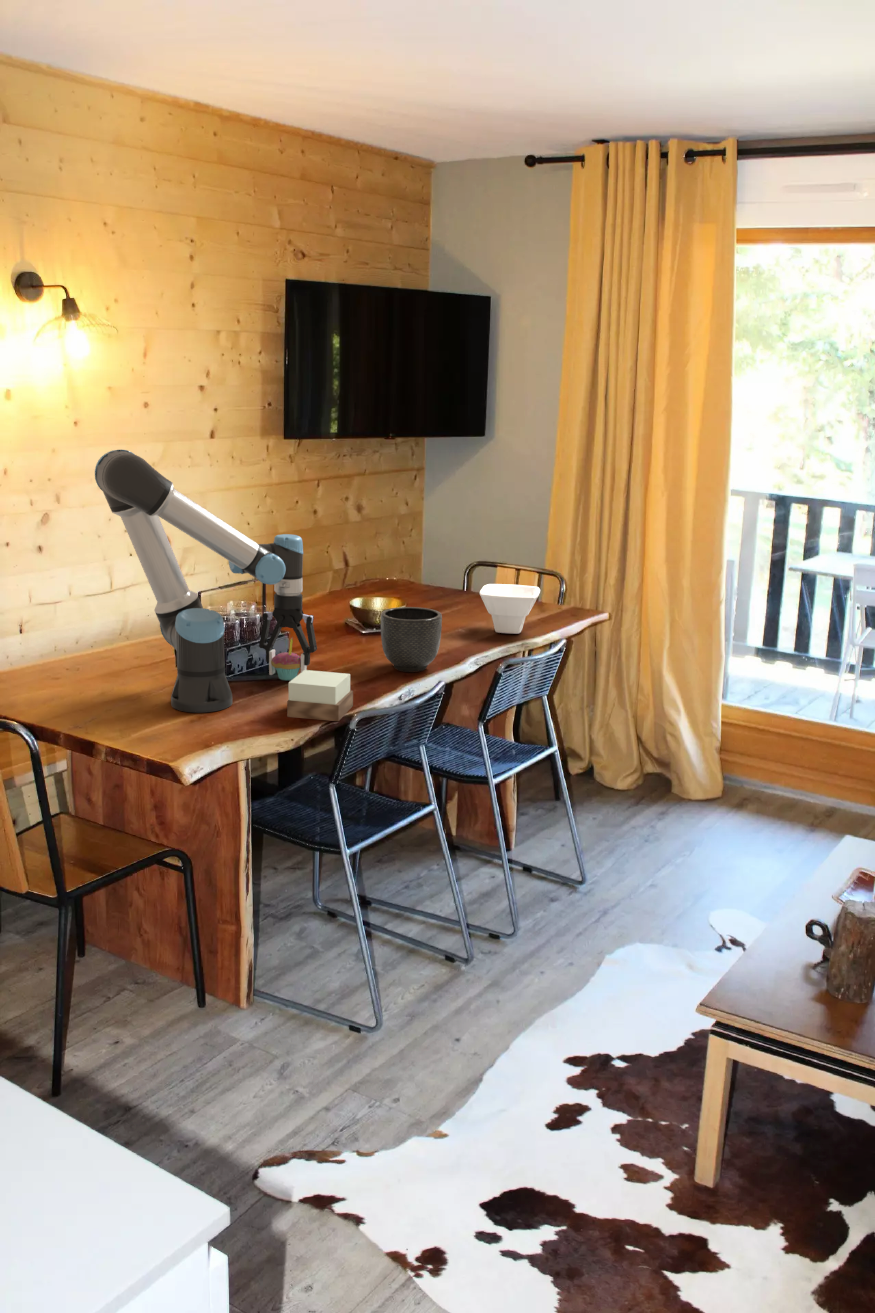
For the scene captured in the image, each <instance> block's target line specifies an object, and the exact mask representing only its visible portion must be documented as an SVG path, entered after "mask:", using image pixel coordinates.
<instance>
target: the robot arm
mask: <svg viewBox="0 0 875 1313" xmlns="http://www.w3.org/2000/svg"><path fill="white" fill-rule="evenodd" d="M94 479H95V483H96V484H97V487H98V488H99V490H101V491H102V493H103V495H104V497H105V499H106V501H107V504H108V507H109V509H110V512H111V513H112V514H114V515H116V516H119V517H120V519H121V521H122V523H123V525H124V528H125V530H126V533H127V535H128V537H129V539H130V542H131V545H132V546H133V549H134V551H135V554H136V556H137V558H138V560H139V563H140V565H141V567H142V569H143V572H144V574H145V577H146V579H147V581H148V584H149V586H150V589H151V591H152V594H153V595H154V598H155V600H156V604H155V607H154V612H155V613H154V614H155V615H156V618H157V620H158V623H159V628H160V634H161V635H162V637H163V639H164V640H165V641H166V643H168V644H169V645H170V646H172V647H173V649H175V650H176V666H177V667H176V669H177V671H176V672H177V673H176V674H177V676H176V680H175V683H174V686H173V688H172V693H171V695H170V700H171V701H170V704H171V707H172V709H175V710H177V711H180V712H184V713H185V712H186V713H197V714H198V713H210V712H211V713H213V712H219V711H222V710H225V709H228V708H229V707H231V706H232V704H233V693H232V690H231V687H230V685H229V682H228V679H227V676H226V673H225V672H226V671H225V670H226V667H225V664H226V663H225V630H226V629H225V624H224V619H223V616H222V615H221V614H220V613H219V612H218V611H216V610H213V609H211V610H210V609H209V608H204V607H203V605H202V601H201V599H200V598H199V595H198V593H197V592H196V591H192V590H191V589H189V585H188V584H187V582H186V579H185V577H184V574H183V572H182V570H181V567H180V564H179V563H178V560H177V557H176V554H175V553H174V550H173V548H172V545H171V543H170V541H169V538H168V536H167V532H166V531H165V528H164V526H163V523H162V521H161V519H163V520H164V521H165V522H167V523H168V524H170V525H172V526H173V527H175V528H177V530H179V531H180V532H183V533H184V534H185V535H188V536H189V537H190V538H192V539H193V540H196V541H197V542H199V543H200V544H202V546H205V547H206V548H208V549H210V550H211V551H213V552H214V553H216V554H217V555H219V556H221V557H222V558H224V559H225V560H227V561H228V566H229V569H230V571H231V573H233V574H240V575H244V574H249V575H250V576H252V577H254V579H256V580H257V581H259V582H260V583H262V584H264V585H270V586H271V585H273V586H274V589H273V591H274V592H275V593H274V595H273V598H274V599H273V611H265V612H263V613H262V620H263V623H262V627H261V632H260V639H259V644H258V647H259V648H260V649H263V650H264V651H265V661H266V663H269V664H268V670H269V671H268V672H269V673H268V675H269V676H273V675H274V674H276V668H275V667H274V666H272V664H271V660H272V659H273V657H274V656H276V649H274V645H275V644H276V641H277V639H278V637H279V635H280V633H281V630H282V629H283V628H289V629H292V630H293V632H294V633H295V636H296V637H297V640H298V642H299V646H300V647H301V649H302V653H301V654H300V657H301V668H300V673H301V672H303V671H304V670H308V669H307V668H308V666H309V665H310V664H311V654H314V653H315V652H316V651H317V650H318V646H317V640H316V635H315V628H314V619H315V616H314V615H313V614H310V615H308V614H305V613H304V611H303V594H302V593H303V590H304V589H303V585H304V584H303V576H304V575H303V571H304V569H303V568H304V567H303V566H304V565H303V564H304V563H303V562H304V545H303V544H304V542H303V538H302V537H301V536H299V535H297V534H288V533H283V534H277V535H275V536H274V539H273V542H271V543H258V542H256V541H255V540H253V539H252V538H250V537H248V536H247V535H245V534H244V533H243V532H241V531H239V530H237V529H236V528H235V527H234V526H231V525H230V524H229V523H227V522H226V521H224V520H223V519H221V518H219V517H218V516H216V515H215V514H214V513H212V512H211V511H209V510H207V509H206V508H204V507H203V506H201V505H200V504H198V503H197V502H195V501H194V500H192V499H191V498H189V497H188V496H186V495H185V494H183V493H182V492H180V491H178V489H175V486H174V483H173V482H172V481H171V480H169V479H167V478H166V477H165V476H164V475H162V474H161V473H160V472H159V471H157V469H155V468H154V467H153V466H152V465H151V464H149V462H147V460H145V459H144V458H143V457H141V456H140V455H137V454H135V453H134V452H132V451H130V450H127V449H114V450H110V451H107V452H106V453H104V454H103V455H102V456H101V457H100V458H99V459H98V460H97V462H96V464H95V468H94ZM160 518H161V519H160ZM273 618H274V620H275V622H276V623H275V626H274V629H273V630H272V632H271V636H270V638H269V632H270V625H271V621H272V619H273ZM302 620H303V621H304V623H305V629H306V634H307V637H306V635H305V633H304V631H303V627H302V623H301V621H302ZM268 638H269V639H268Z"/></svg>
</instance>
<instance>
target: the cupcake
mask: <svg viewBox="0 0 875 1313" xmlns="http://www.w3.org/2000/svg"><path fill="white" fill-rule="evenodd" d="M293 637H294V636H292V637H291V638H290V640H289V641H290V642H289V649H288V650H289V651H288V652H287V651H286V652H285V651H283V652H279V653H277V654H275V656H274V657H273V659H272V660H271V664H272V666H274V667H275V671H276V673H277V677H278V679H279V680H281V681H291V680H293V679H294V678H295V677H296V676H298V675H299V672H300V671H301V655H299V654H297V653H296V652H292V650H293V642H294V640H293Z"/></svg>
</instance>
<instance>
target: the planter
mask: <svg viewBox="0 0 875 1313" xmlns="http://www.w3.org/2000/svg"><path fill="white" fill-rule="evenodd" d="M442 622H443V616H442V613H441V612H440V611H438V610H436V609H431V608H427V607H419V606H416V607H415V606H402V607H392V608H388V609H385V610H382V612H381V613H380V637H381V647H382V650H383V654H384V656H385V658H386V659H387V660H388V661H389V662H390V664H392V665H393V668H394V669H395V670H396V669H397V670H396V671H400V672H403V673H418V672H423V671H425V670H426V669H427V668H428V666H429V665H430V664H432V662H433V661H434V660H435V658H436V657H437V655H438V653H439V649H440V645H441V639H442V629H443V626H442V624H443V623H442Z"/></svg>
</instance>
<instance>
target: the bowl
mask: <svg viewBox="0 0 875 1313" xmlns="http://www.w3.org/2000/svg"><path fill="white" fill-rule="evenodd" d="M540 593H541V589H540V587H539V586H533V585H526V584H525V585H522V584H509V583H507V584H505V583H503V584H502V583H488V584H485V585H483V586H482V588H481V589H480V591H479V595H480V598H481V600H482V602H483V604H484V606H485V609H486V610H487V613H488V614H489V615H491V619H492V623H493V624H492V625H493V628H494V631H495V633H499V634H500V633H501V634H512V635H513V634H521V632H522V631H523V627H524V624H525V621H526V617H527V616H529V614H530V612H531V610H532V609H533V607H534V605H535V603H536V601H537V600H538V597H539V596H540Z"/></svg>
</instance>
